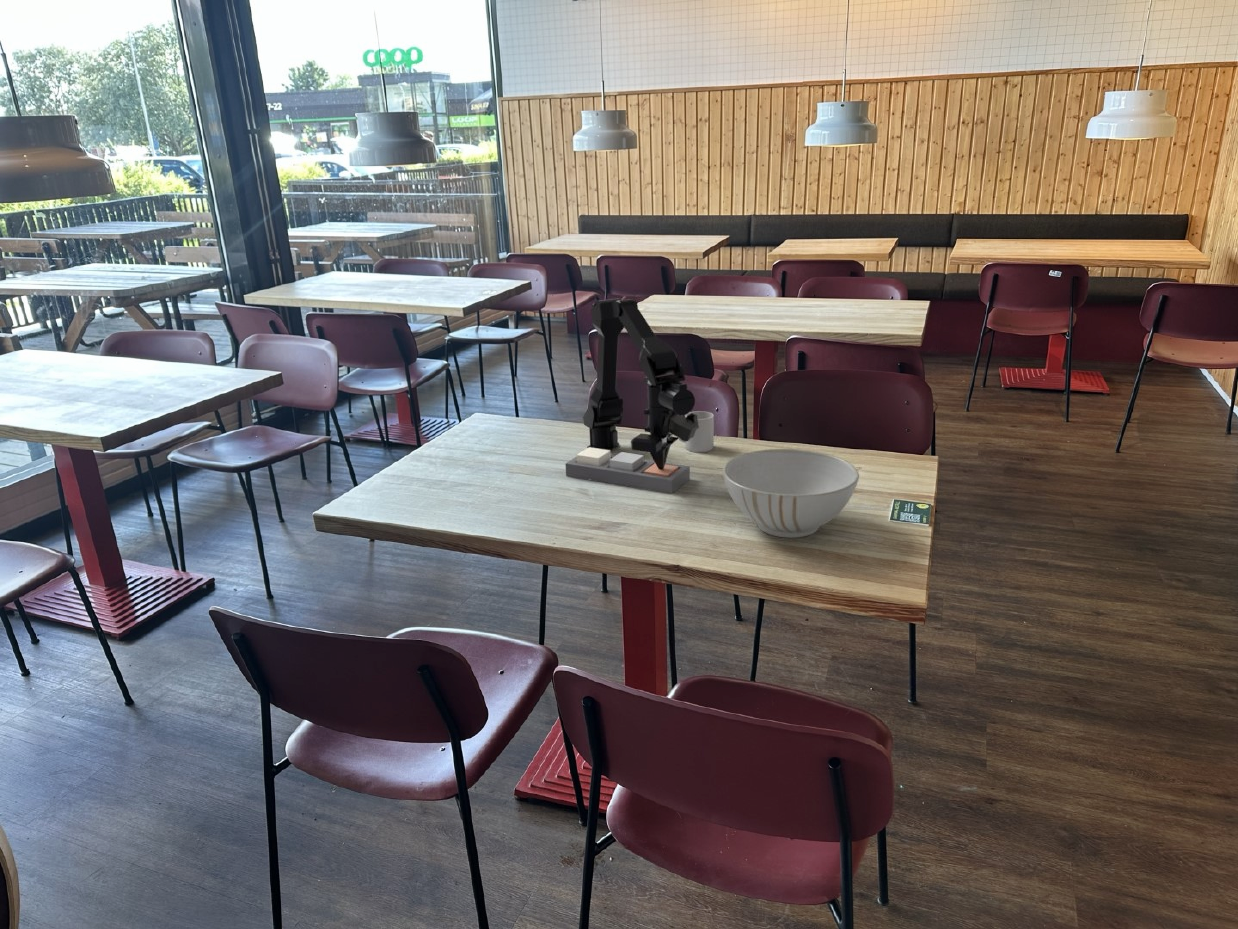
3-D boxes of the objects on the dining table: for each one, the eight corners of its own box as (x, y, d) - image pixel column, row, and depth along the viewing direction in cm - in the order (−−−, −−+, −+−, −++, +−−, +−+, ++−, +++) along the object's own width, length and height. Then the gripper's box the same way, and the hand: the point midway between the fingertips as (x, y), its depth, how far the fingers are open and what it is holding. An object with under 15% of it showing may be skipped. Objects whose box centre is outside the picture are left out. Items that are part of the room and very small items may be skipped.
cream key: (576, 464, 210) (576, 454, 209) (589, 456, 215) (589, 447, 214) (598, 467, 207) (598, 458, 206) (610, 459, 212) (610, 450, 211)
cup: (709, 453, 222) (709, 420, 219) (671, 450, 225) (671, 417, 222) (716, 445, 228) (716, 412, 225) (679, 441, 231) (679, 409, 228)
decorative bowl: (755, 563, 164) (756, 503, 160) (702, 510, 188) (702, 457, 184) (881, 542, 171) (886, 484, 167) (815, 493, 195) (817, 442, 191)
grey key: (609, 469, 206) (609, 459, 205) (621, 461, 211) (621, 452, 210) (632, 473, 203) (632, 463, 202) (643, 464, 208) (643, 455, 207)
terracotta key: (644, 481, 202) (643, 471, 202) (655, 472, 207) (655, 463, 206) (667, 484, 200) (667, 475, 199) (678, 476, 205) (678, 466, 204)
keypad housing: (566, 475, 210) (565, 463, 209) (586, 462, 218) (586, 450, 217) (671, 493, 197) (671, 480, 196) (689, 478, 206) (689, 466, 205)
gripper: (675, 419, 186) (675, 487, 191) (709, 397, 201) (708, 461, 207) (628, 413, 191) (630, 480, 196) (665, 392, 206) (666, 454, 212)
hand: (661, 468), depth 203 cm, fingers closed, pressing on terracotta key
